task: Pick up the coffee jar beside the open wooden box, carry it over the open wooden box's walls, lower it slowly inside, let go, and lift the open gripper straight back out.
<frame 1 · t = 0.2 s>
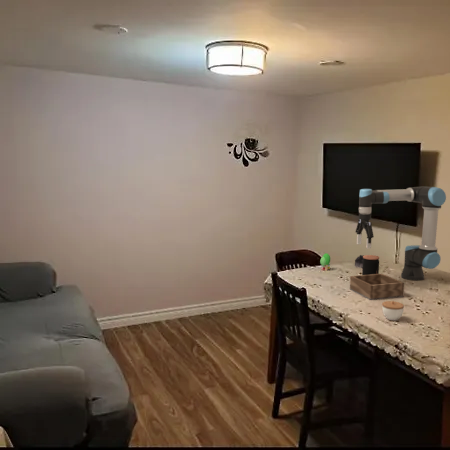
hand: (363, 246, 293), 28 cm above the table, fingers open, 13 cm apart
coffee jar: (370, 282, 310), on the table
green toy tree: (322, 270, 345), on the table
crystal cluster: (362, 266, 356), on the table
lidded jar: (392, 318, 241), on the table
open wooden box: (375, 293, 286), on the table
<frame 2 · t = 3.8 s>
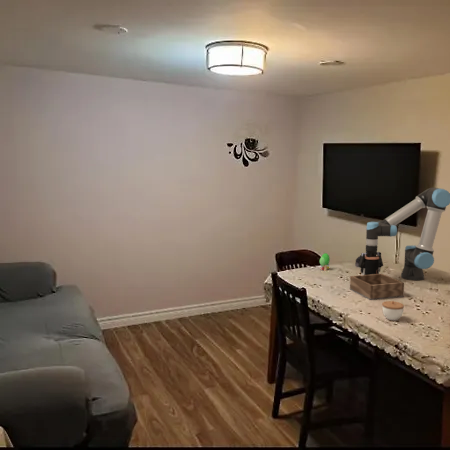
hand: (370, 277, 309), 4 cm above the table, fingers closed on coffee jar, 10 cm apart
coffee jar: (369, 282, 310), on the table, touching gripper
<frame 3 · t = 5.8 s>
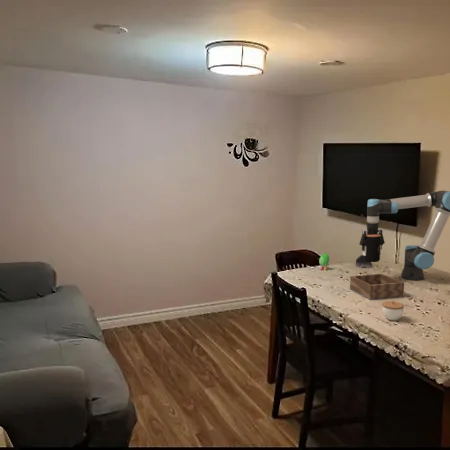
hand: (371, 254, 307), 19 cm above the table, fingers closed on coffee jar, 10 cm apart
coffee jar: (371, 260, 307), point 15 cm above the table, touching gripper
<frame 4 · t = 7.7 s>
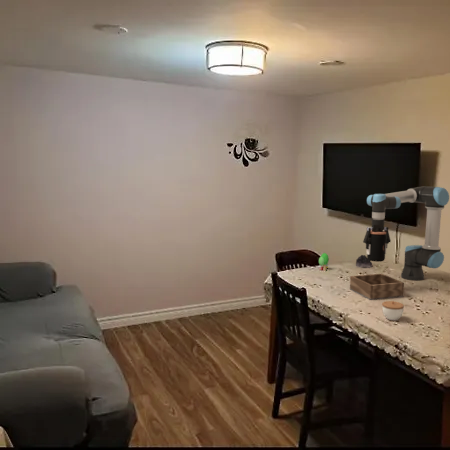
hand: (376, 253, 285), 24 cm above the table, fingers closed on coffee jar, 10 cm apart
coffee jar: (375, 260, 286), point 20 cm above the table, touching gripper
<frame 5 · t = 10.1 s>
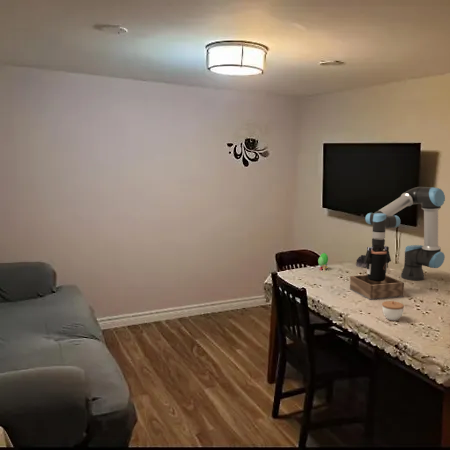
hand: (376, 273, 284), 13 cm above the table, fingers closed on coffee jar, 10 cm apart
coffee jar: (376, 279, 285), point 9 cm above the table, touching gripper
when the fingers open (7 cm above the table, at t = 11.9 s): coffee jar drops 2 cm, resting on open wooden box.
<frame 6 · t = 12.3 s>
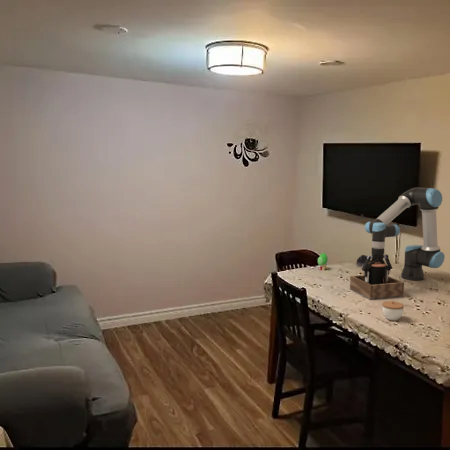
hand: (376, 281, 285), 8 cm above the table, fingers open, 13 cm apart
coffee jar: (376, 291, 286), point 1 cm above the table, touching open wooden box
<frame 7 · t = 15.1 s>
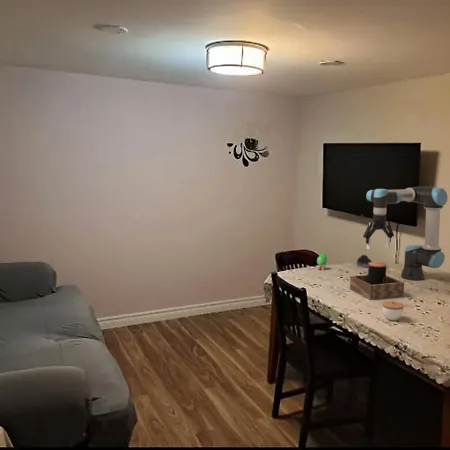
hand: (378, 248, 282), 28 cm above the table, fingers open, 13 cm apart
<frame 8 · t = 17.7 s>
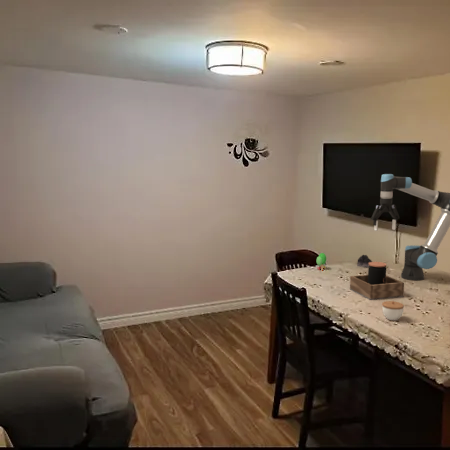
hand: (384, 230, 301), 37 cm above the table, fingers open, 13 cm apart
at the end: coffee jar inside the target area on the open wooden box (0.3 cm from its centre), point 0.6 cm above the open wooden box's base; coffee jar tilted 0°; the gripper is holding nothing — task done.
